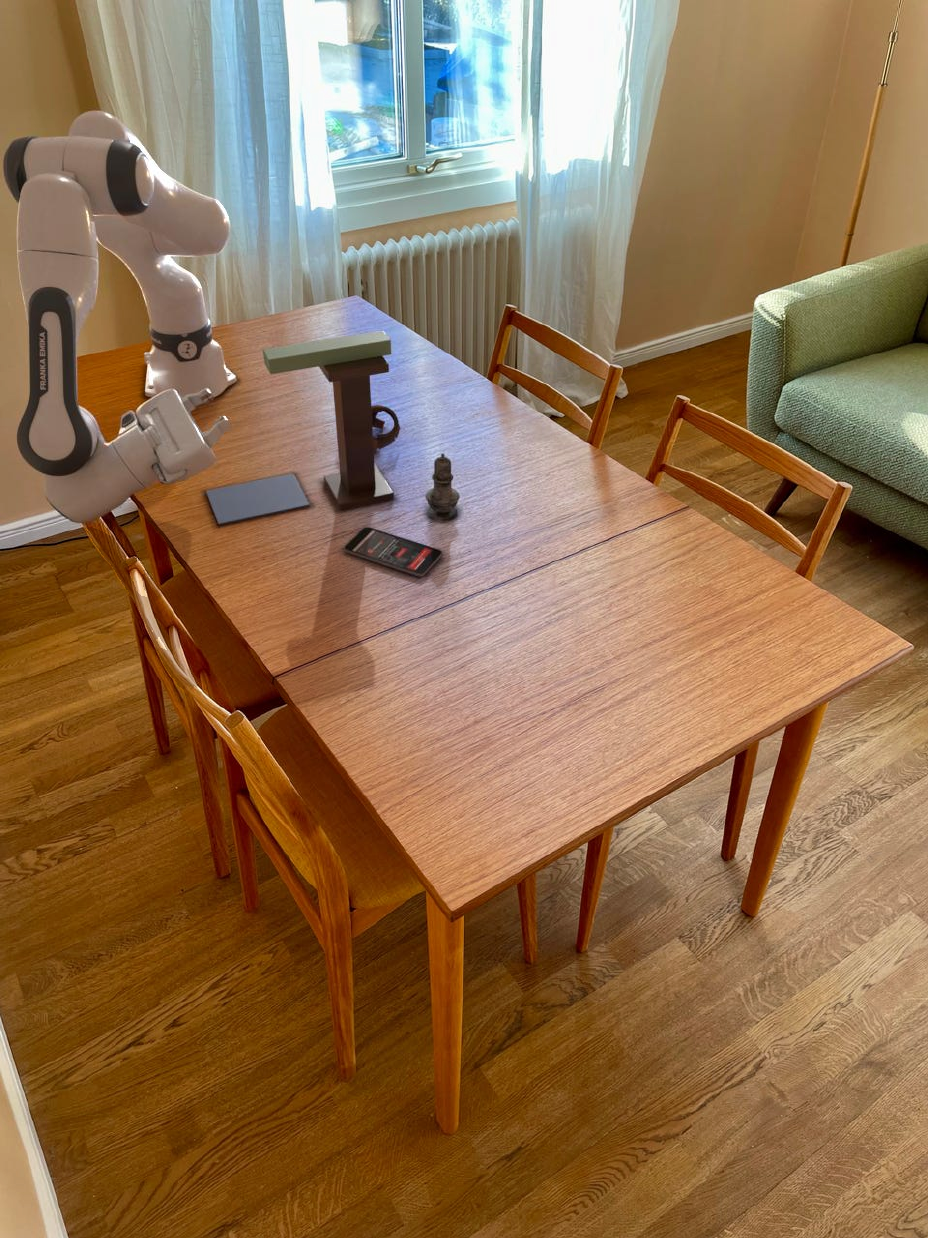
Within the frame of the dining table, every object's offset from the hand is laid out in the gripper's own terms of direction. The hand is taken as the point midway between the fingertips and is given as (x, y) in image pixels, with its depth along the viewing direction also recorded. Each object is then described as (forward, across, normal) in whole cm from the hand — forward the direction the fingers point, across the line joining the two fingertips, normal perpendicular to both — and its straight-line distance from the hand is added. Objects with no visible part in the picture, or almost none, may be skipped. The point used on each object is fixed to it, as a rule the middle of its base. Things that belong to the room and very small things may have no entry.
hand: (219, 406), depth 150 cm
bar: (+19, -2, +2) cm, 19 cm away
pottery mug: (+19, +12, +32) cm, 39 cm away
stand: (+12, -3, +28) cm, 30 cm away
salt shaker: (+21, -16, +32) cm, 41 cm away
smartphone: (+10, -23, +26) cm, 36 cm away
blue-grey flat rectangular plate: (-4, +2, +21) cm, 21 cm away
